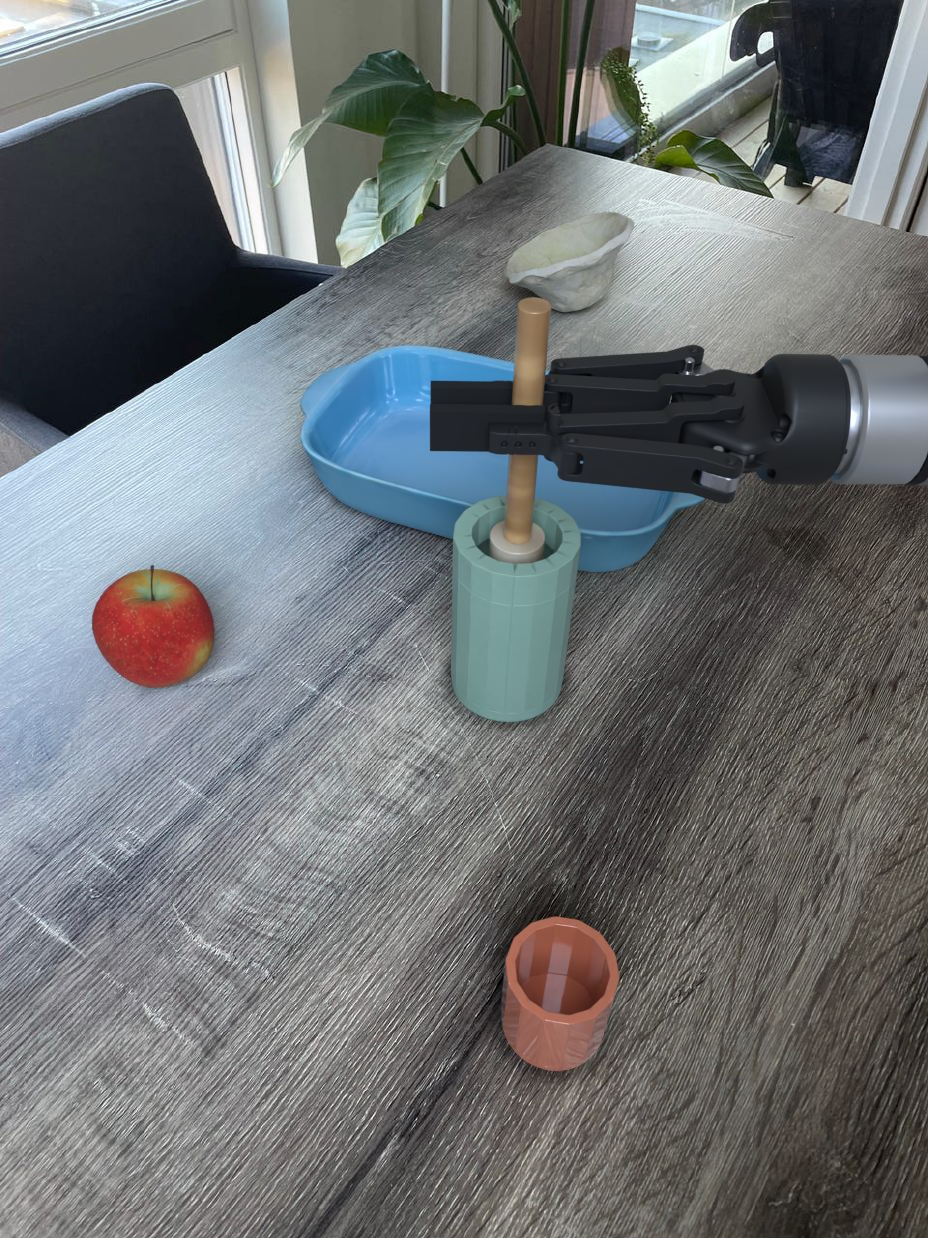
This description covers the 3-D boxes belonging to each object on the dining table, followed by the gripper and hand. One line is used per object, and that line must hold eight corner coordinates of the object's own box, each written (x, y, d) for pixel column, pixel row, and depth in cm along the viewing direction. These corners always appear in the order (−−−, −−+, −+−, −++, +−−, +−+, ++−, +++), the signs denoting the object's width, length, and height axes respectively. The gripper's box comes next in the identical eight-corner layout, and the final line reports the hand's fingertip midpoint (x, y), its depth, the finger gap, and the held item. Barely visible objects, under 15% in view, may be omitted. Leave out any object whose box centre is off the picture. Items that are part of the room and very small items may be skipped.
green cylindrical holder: (524, 740, 70) (538, 594, 60) (428, 689, 73) (427, 542, 64) (582, 670, 75) (604, 525, 65) (490, 625, 78) (498, 480, 68)
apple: (101, 650, 75) (67, 549, 68) (207, 621, 78) (185, 520, 71) (121, 726, 70) (87, 625, 63) (234, 692, 73) (213, 591, 66)
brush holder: (572, 1094, 53) (584, 1047, 49) (480, 1030, 55) (483, 980, 51) (624, 1006, 56) (639, 956, 52) (535, 950, 59) (542, 897, 55)
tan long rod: (519, 649, 68) (545, 327, 52) (475, 627, 70) (487, 307, 53) (546, 619, 71) (580, 301, 54) (503, 598, 72) (523, 282, 55)
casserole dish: (723, 469, 94) (739, 403, 89) (674, 624, 79) (690, 555, 74) (365, 389, 103) (362, 325, 98) (259, 515, 87) (248, 447, 82)
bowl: (524, 266, 124) (529, 183, 117) (635, 285, 121) (647, 202, 114) (485, 320, 114) (488, 233, 107) (605, 343, 110) (616, 255, 103)
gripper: (848, 551, 56) (428, 547, 55) (785, 406, 67) (432, 401, 66) (891, 439, 51) (427, 433, 50) (815, 300, 61) (431, 295, 61)
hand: (431, 415), depth 58 cm, fingers closed on tan long rod, 2 cm apart
